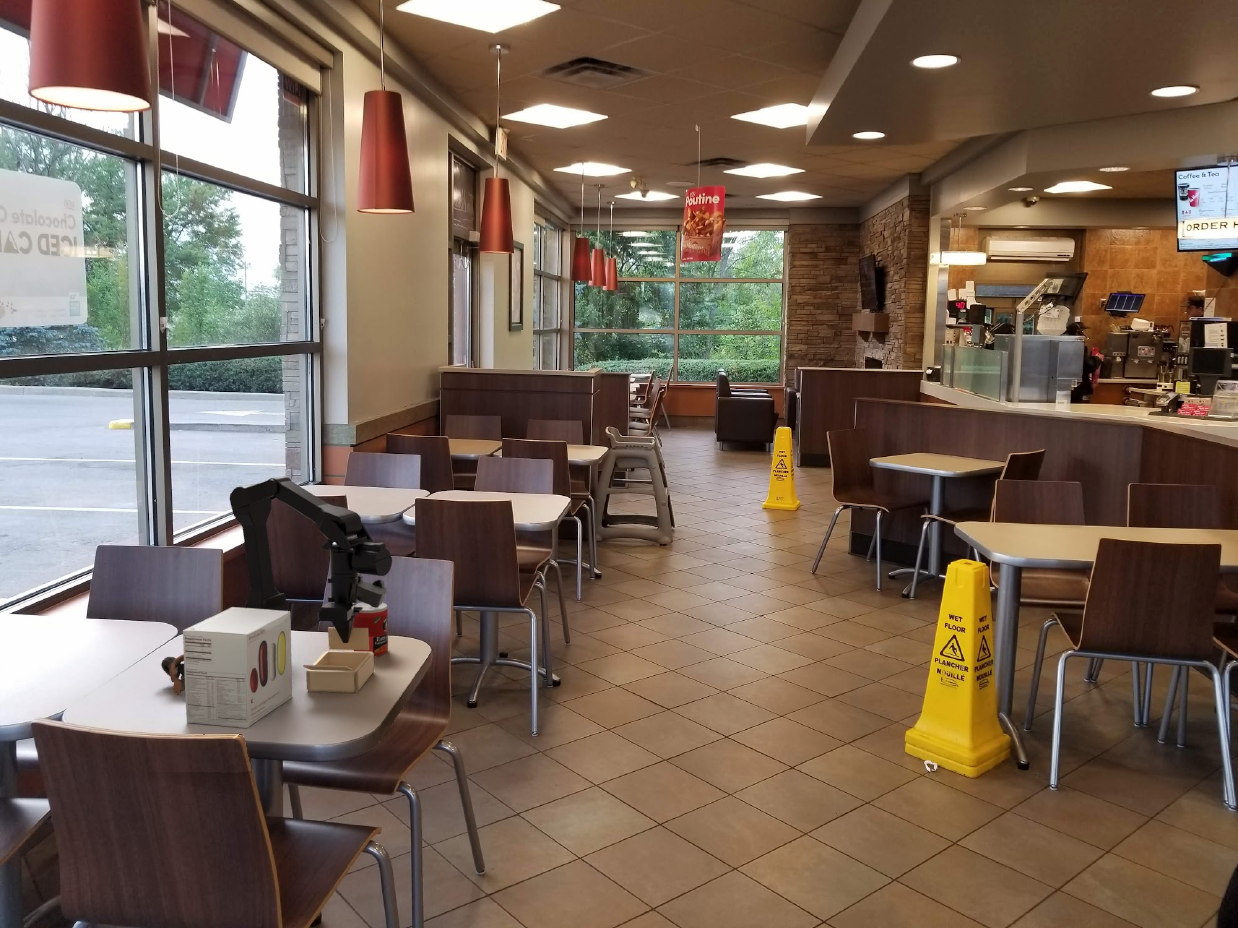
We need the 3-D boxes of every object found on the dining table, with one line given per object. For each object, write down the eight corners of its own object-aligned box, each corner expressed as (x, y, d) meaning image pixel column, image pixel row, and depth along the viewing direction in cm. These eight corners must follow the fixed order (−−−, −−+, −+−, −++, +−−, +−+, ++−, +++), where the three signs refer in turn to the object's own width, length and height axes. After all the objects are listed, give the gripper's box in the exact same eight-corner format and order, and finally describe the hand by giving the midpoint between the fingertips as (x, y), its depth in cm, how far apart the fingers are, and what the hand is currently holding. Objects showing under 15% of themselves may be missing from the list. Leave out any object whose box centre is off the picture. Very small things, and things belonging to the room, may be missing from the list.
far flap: (327, 627, 212) (328, 627, 213) (329, 649, 214) (329, 648, 214) (367, 628, 212) (368, 628, 213) (368, 650, 213) (369, 649, 214)
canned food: (379, 658, 223) (378, 611, 222) (347, 655, 225) (346, 608, 224) (394, 648, 231) (393, 602, 229) (362, 645, 232) (361, 600, 231)
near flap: (310, 668, 201) (310, 669, 201) (303, 664, 196) (303, 666, 196) (352, 669, 201) (352, 670, 201) (346, 665, 196) (346, 667, 196)
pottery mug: (226, 681, 209) (223, 655, 204) (199, 714, 201) (195, 688, 196) (175, 663, 210) (171, 637, 205) (146, 696, 203) (141, 669, 198)
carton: (305, 692, 202) (305, 670, 201) (325, 670, 215) (325, 650, 214) (358, 693, 202) (357, 671, 201) (374, 671, 215) (374, 651, 214)
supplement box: (250, 729, 183) (246, 634, 180) (184, 723, 185) (180, 630, 182) (295, 696, 200) (292, 609, 197) (234, 691, 202) (231, 605, 199)
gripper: (370, 582, 200) (371, 656, 202) (393, 562, 218) (394, 631, 220) (315, 581, 200) (317, 655, 202) (343, 561, 219) (344, 630, 220)
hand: (345, 642), depth 211 cm, fingers closed
